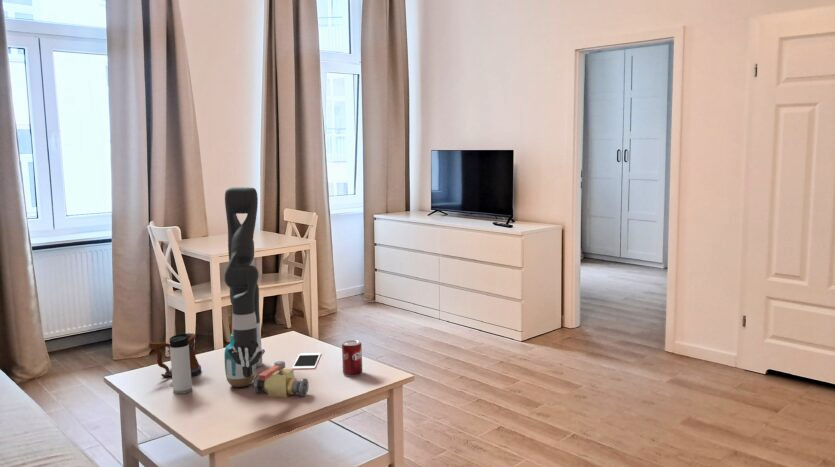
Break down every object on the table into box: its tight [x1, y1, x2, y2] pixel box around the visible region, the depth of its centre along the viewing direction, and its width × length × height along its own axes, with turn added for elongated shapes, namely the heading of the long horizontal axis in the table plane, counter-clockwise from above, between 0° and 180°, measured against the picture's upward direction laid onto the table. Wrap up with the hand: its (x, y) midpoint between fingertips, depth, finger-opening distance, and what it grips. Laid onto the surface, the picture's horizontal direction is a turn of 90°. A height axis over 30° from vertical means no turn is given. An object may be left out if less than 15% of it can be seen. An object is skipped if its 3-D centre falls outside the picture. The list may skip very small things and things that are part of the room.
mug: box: [148, 332, 202, 378], centre depth 249 cm, size 18×12×15 cm, turn 121°
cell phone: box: [291, 352, 322, 371], centre depth 262 cm, size 9×18×1 cm, turn 0°
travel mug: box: [169, 332, 193, 395], centre depth 233 cm, size 6×7×20 cm
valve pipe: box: [252, 368, 309, 399], centre depth 228 cm, size 18×6×9 cm, turn 74°
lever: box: [257, 360, 286, 380], centre depth 223 cm, size 14×4×2 cm, turn 164°
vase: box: [223, 332, 256, 388], centre depth 236 cm, size 11×11×19 cm
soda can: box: [341, 339, 363, 378], centre depth 246 cm, size 7×7×12 cm
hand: (247, 376), depth 219 cm, fingers closed
